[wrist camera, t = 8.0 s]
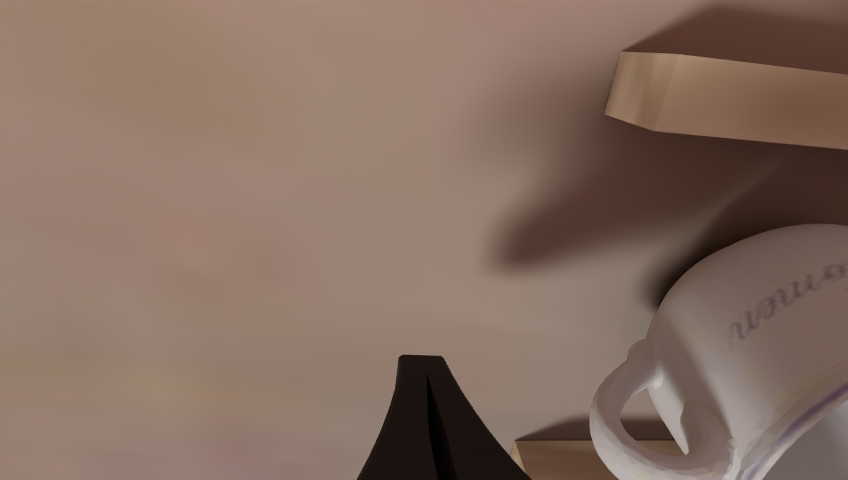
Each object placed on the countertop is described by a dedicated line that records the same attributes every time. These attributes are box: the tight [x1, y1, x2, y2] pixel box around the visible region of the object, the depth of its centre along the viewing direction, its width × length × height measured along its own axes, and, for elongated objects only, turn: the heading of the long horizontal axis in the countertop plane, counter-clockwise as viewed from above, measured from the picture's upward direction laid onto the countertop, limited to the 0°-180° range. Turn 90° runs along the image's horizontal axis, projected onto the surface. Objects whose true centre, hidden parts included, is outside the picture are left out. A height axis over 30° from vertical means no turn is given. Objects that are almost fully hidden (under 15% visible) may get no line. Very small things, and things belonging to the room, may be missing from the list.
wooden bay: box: [511, 52, 848, 480], centre depth 18 cm, size 20×17×3 cm
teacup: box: [590, 224, 848, 480], centre depth 15 cm, size 14×11×8 cm
